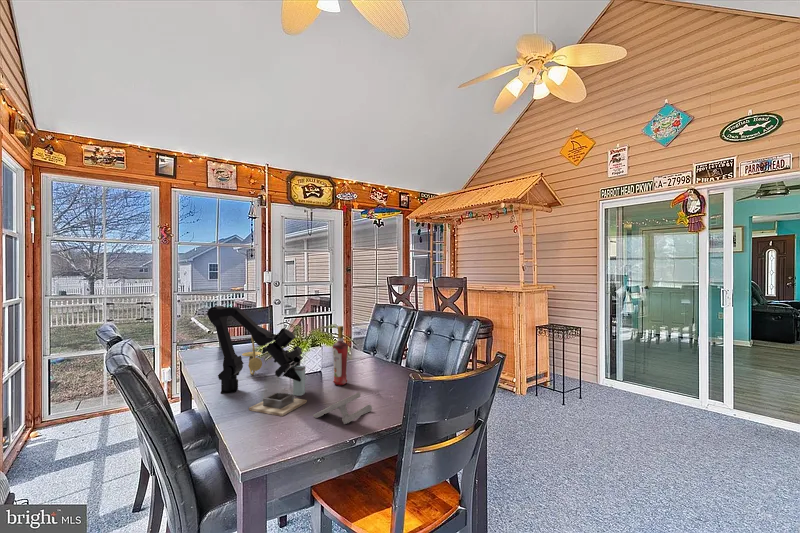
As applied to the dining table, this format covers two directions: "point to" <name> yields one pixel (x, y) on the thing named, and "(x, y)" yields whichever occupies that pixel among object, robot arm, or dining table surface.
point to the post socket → (278, 404)
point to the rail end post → (299, 386)
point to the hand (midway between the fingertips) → (302, 379)
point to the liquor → (340, 359)
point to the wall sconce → (253, 359)
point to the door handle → (342, 407)
